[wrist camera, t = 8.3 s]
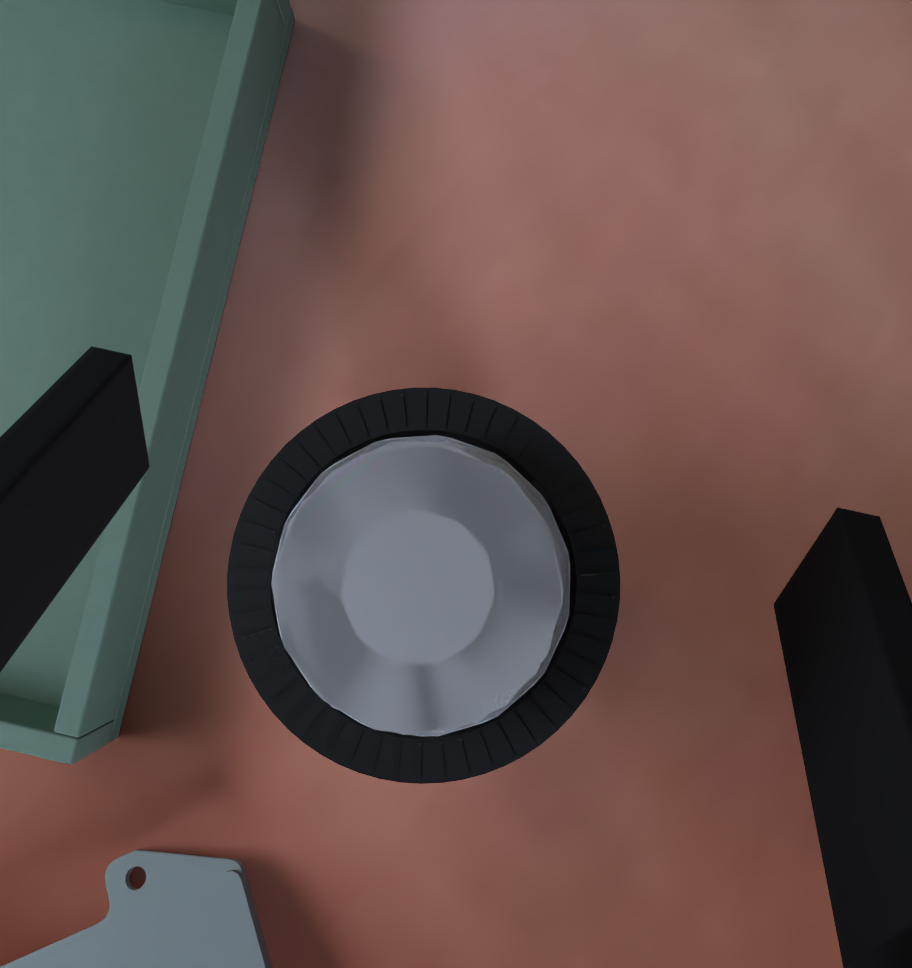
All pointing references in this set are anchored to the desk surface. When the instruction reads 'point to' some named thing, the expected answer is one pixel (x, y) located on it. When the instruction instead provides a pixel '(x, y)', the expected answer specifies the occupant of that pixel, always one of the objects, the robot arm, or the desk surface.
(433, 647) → the push button
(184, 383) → the tray
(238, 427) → the desk surface
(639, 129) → the desk surface
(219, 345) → the desk surface
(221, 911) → the metal bracket
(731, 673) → the desk surface
